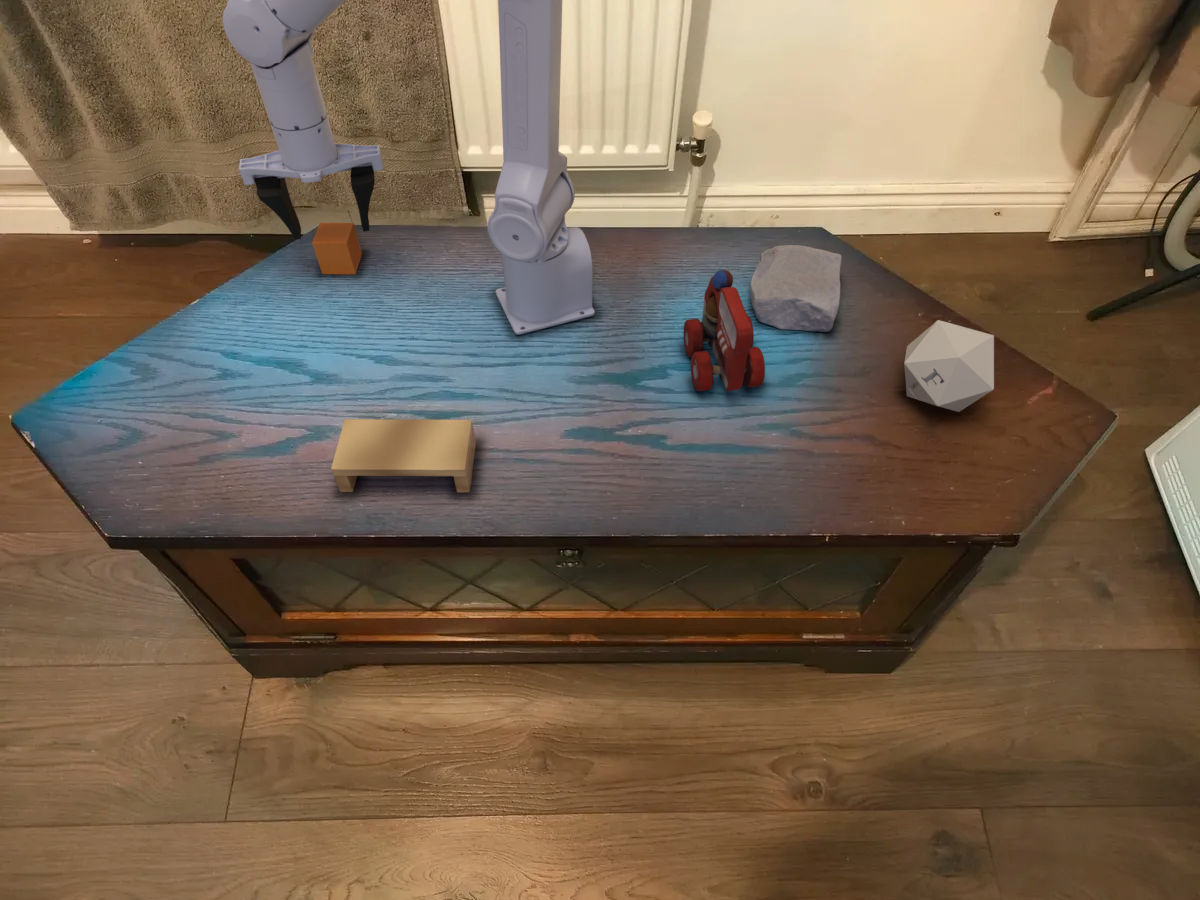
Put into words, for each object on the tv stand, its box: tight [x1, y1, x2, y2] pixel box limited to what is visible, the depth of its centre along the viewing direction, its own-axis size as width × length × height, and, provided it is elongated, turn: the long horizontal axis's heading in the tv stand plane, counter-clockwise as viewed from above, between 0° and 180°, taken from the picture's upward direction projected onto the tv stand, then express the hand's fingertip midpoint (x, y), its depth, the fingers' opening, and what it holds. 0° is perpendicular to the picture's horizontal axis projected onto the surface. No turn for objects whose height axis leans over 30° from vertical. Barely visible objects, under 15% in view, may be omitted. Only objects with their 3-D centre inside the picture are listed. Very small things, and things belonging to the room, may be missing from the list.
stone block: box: [749, 244, 842, 333], centre depth 89 cm, size 12×5×10 cm
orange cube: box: [311, 222, 363, 275], centre depth 92 cm, size 4×4×4 cm
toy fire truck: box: [683, 269, 766, 392], centre depth 79 cm, size 7×12×10 cm, turn 6°
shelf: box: [330, 418, 477, 493], centre depth 72 cm, size 12×6×4 cm, turn 90°
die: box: [903, 319, 995, 413], centre depth 78 cm, size 8×9×10 cm
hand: (332, 230), depth 90 cm, fingers open, 7 cm apart
